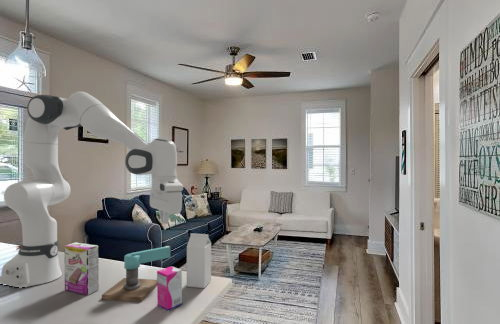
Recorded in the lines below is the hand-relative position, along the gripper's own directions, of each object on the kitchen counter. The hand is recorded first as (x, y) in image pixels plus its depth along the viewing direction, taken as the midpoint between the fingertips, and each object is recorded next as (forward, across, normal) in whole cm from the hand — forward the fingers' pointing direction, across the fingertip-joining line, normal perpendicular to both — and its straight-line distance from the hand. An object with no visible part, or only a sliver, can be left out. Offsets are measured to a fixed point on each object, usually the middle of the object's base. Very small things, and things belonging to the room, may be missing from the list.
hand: (164, 223), depth 106 cm
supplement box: (+25, +11, -3) cm, 27 cm away
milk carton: (+25, +2, +13) cm, 28 cm away
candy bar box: (+25, -18, -23) cm, 38 cm away
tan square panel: (+24, -7, -9) cm, 27 cm away
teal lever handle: (+16, -7, -3) cm, 17 cm away
